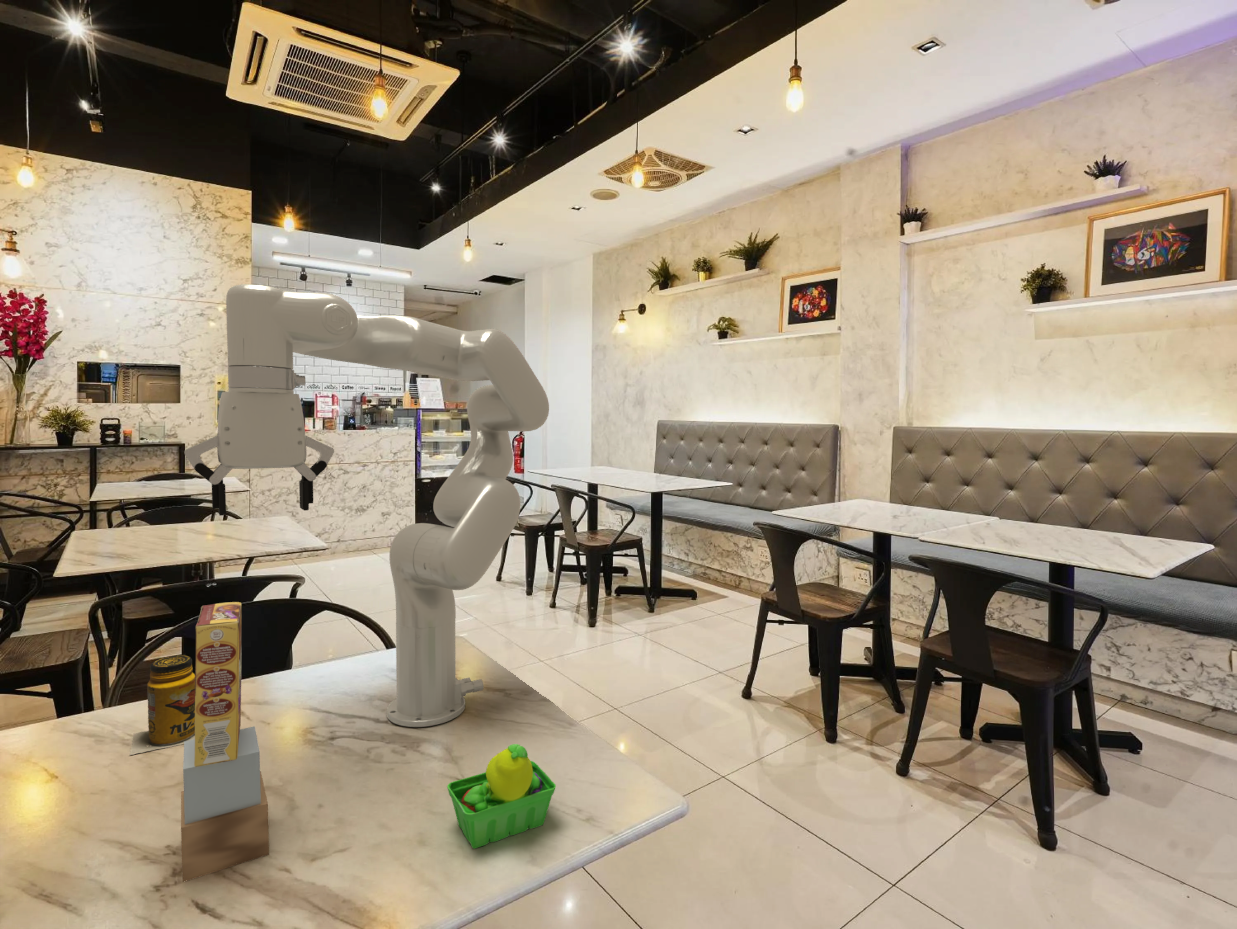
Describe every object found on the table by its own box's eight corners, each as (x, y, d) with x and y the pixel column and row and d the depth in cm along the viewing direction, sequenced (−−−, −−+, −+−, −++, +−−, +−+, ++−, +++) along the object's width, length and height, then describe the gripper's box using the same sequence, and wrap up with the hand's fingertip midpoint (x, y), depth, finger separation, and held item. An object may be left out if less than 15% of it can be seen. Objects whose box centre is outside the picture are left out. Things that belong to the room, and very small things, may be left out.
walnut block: (261, 818, 78) (260, 771, 78) (269, 855, 72) (267, 803, 71) (182, 841, 74) (181, 791, 73) (182, 883, 67) (181, 828, 67)
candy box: (241, 759, 69) (239, 620, 68) (194, 769, 67) (190, 626, 66) (244, 725, 77) (242, 600, 76) (201, 733, 75) (198, 604, 74)
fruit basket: (531, 795, 84) (531, 711, 83) (563, 832, 76) (563, 740, 75) (445, 824, 77) (444, 733, 77) (470, 867, 70) (470, 767, 69)
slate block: (255, 774, 77) (254, 726, 77) (260, 803, 71) (259, 751, 71) (185, 792, 73) (184, 741, 73) (184, 824, 67) (183, 769, 67)
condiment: (199, 741, 97) (197, 663, 96) (129, 756, 92) (126, 675, 91) (199, 722, 103) (197, 648, 102) (133, 735, 98) (130, 659, 97)
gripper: (327, 386, 92) (329, 504, 93) (182, 380, 83) (186, 512, 84) (337, 384, 86) (339, 510, 87) (182, 377, 76) (186, 520, 77)
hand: (264, 511), depth 85 cm, fingers open, 9 cm apart
